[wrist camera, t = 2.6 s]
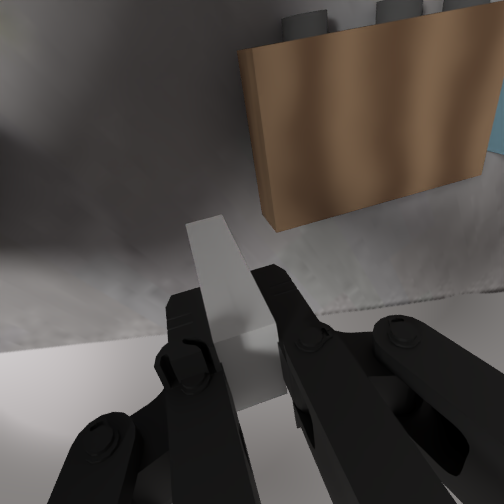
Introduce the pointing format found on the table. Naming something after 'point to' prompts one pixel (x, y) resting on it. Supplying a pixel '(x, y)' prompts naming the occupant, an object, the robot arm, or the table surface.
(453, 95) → the slab
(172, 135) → the table surface
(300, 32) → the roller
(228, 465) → the robot arm
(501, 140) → the block
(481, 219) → the table surface
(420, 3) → the roller mid
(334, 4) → the table surface
